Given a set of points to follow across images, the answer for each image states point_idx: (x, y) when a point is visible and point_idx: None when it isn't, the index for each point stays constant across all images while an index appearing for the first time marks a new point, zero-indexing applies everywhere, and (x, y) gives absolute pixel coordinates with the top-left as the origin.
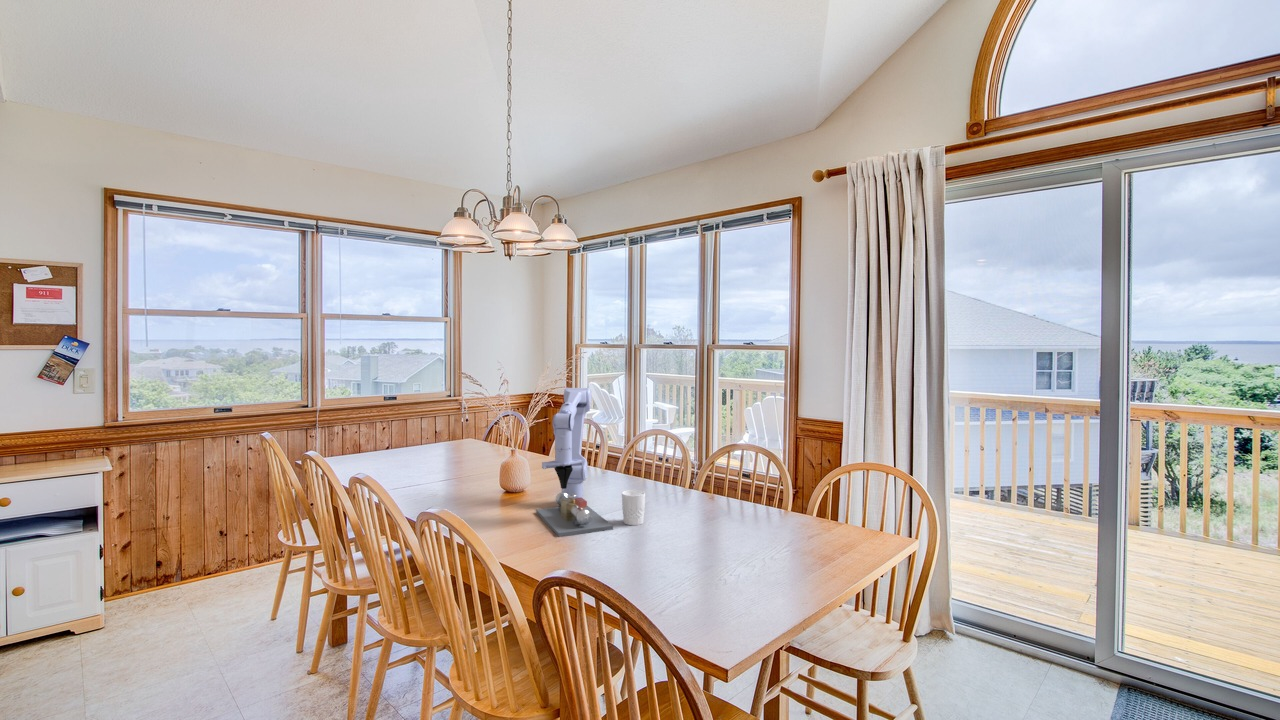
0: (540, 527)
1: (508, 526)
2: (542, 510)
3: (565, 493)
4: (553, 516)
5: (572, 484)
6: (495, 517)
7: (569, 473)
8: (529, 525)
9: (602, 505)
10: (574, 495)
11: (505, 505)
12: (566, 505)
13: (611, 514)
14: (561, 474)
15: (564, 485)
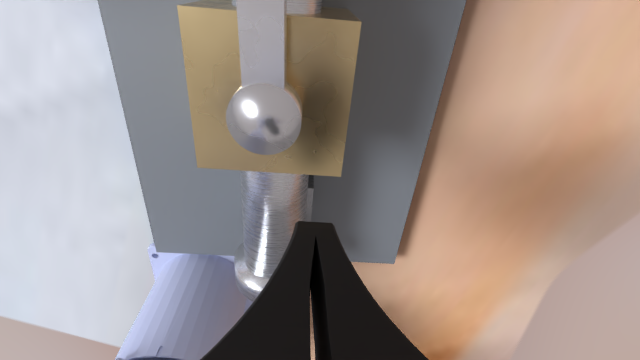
0: (495, 36)
1: (604, 135)
2: (377, 242)
3: (257, 283)
4: (375, 135)
5: (185, 355)
6: (555, 265)
7: (247, 339)
8: (519, 101)
9: (71, 229)
10: (254, 91)
11: (441, 355)
12: (358, 20)
13: (27, 70)
14: (383, 341)
15: (317, 237)
